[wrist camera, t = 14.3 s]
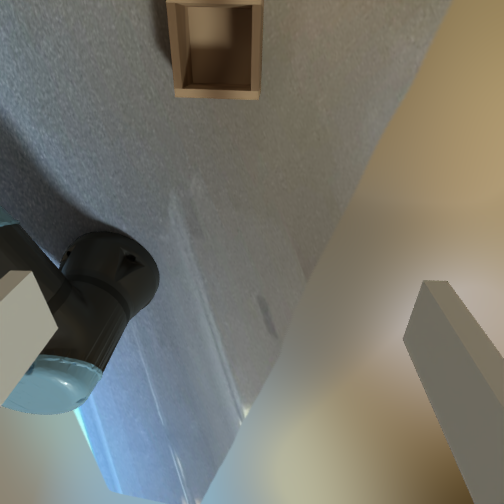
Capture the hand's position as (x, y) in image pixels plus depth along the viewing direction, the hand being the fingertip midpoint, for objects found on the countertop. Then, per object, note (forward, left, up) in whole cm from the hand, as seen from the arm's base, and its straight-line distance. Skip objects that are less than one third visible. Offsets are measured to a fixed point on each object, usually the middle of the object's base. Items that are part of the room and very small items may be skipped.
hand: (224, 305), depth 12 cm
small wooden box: (-4, +7, -34) cm, 35 cm away
